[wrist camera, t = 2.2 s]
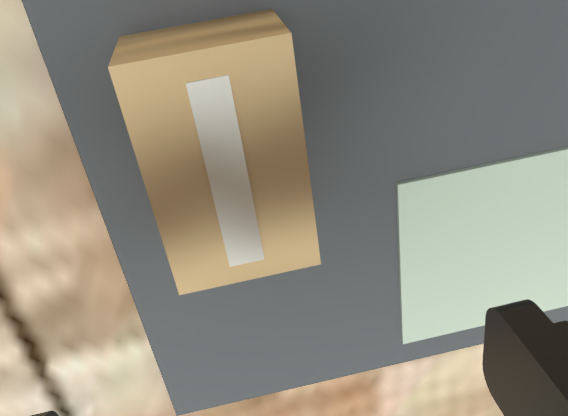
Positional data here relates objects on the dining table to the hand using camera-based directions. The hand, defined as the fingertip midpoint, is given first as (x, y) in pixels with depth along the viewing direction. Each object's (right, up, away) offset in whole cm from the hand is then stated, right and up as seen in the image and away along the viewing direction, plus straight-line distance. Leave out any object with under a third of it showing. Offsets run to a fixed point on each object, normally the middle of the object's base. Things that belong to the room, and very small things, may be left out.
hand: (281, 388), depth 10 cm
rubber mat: (+4, +4, +13) cm, 14 cm away
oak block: (-2, +6, +10) cm, 12 cm away
